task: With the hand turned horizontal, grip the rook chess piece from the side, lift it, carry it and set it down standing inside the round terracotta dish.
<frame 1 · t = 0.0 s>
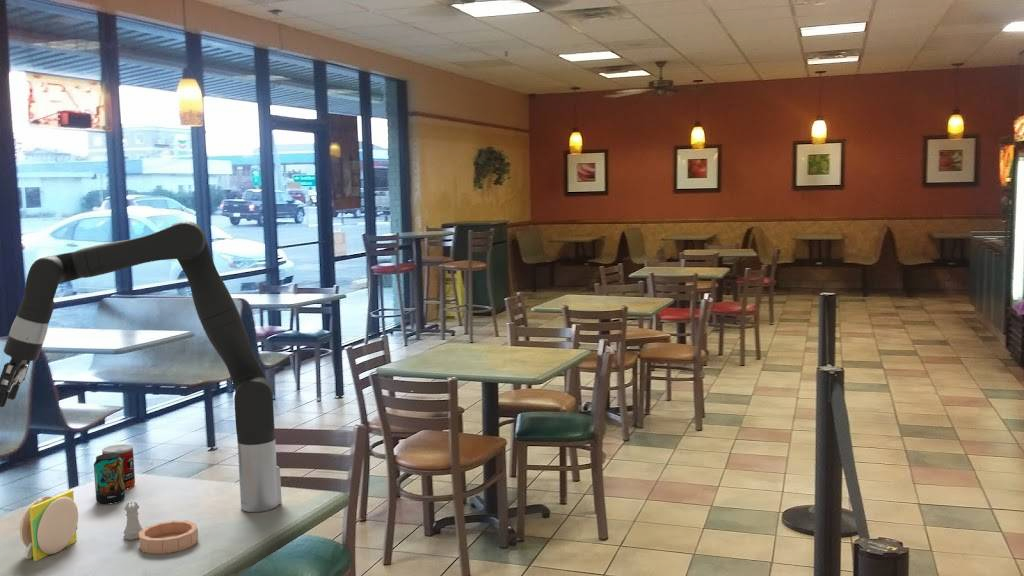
hand: (4, 402, 218), 31 cm above the table, tool tilted 20°, fingers open, 8 cm apart
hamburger: (50, 550, 208), on the table
rook chess piece: (133, 538, 215), on the table
dish: (169, 543, 210), on the table
beverage can: (111, 501, 242), on the table
canned food: (120, 487, 254), on the table
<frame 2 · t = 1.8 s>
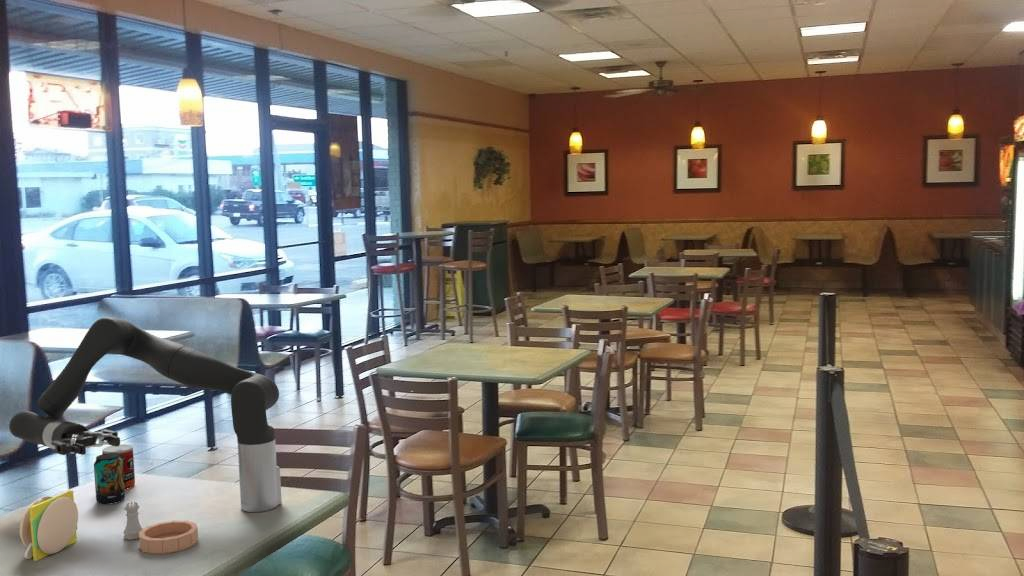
hand: (101, 446, 219), 20 cm above the table, tool horizontal, fingers open, 8 cm apart
nothing on the table moved.
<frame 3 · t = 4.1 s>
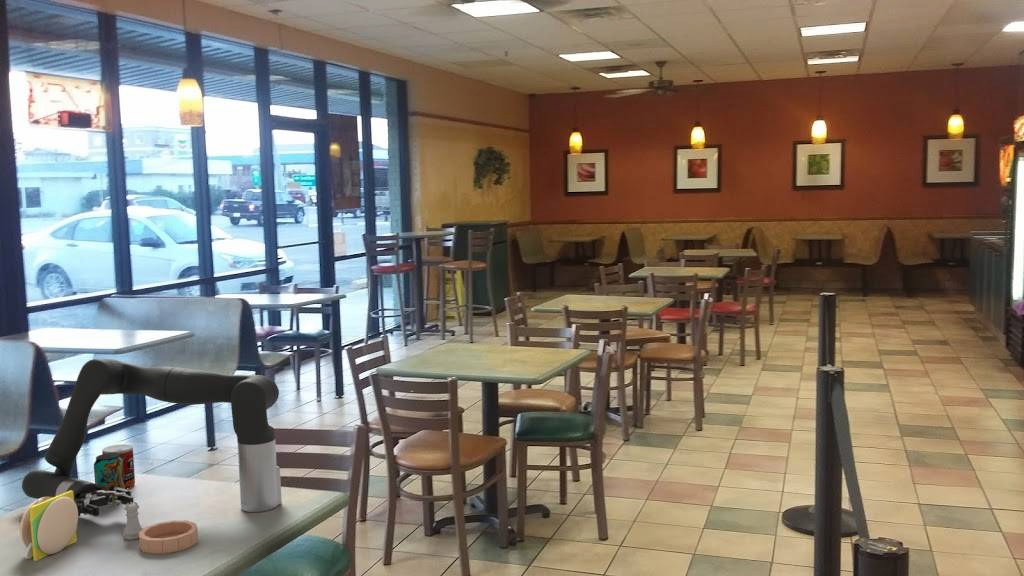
hand: (115, 506, 219), 6 cm above the table, tool horizontal, fingers open, 8 cm apart
nothing on the table moved.
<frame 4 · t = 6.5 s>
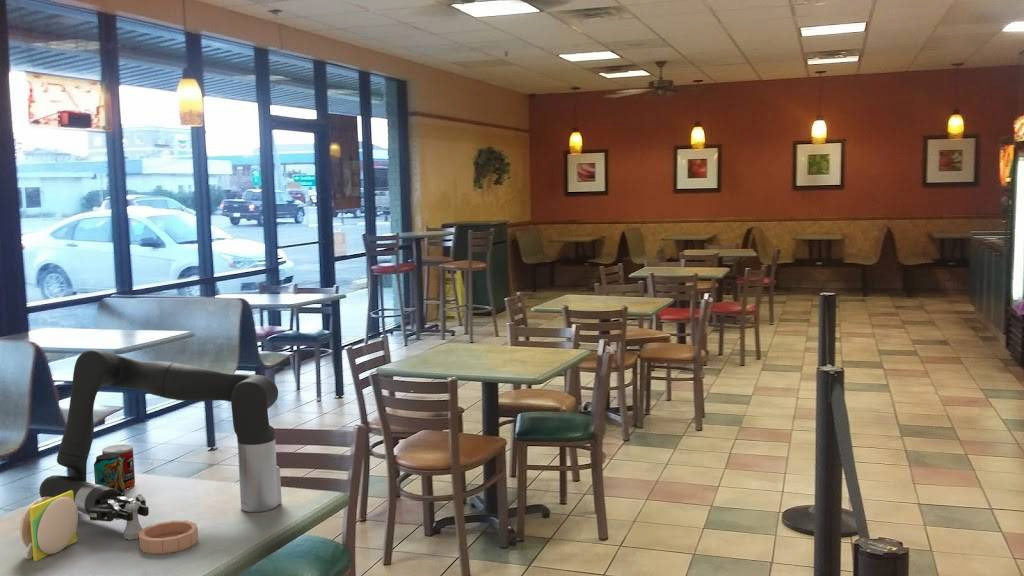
hand: (139, 514, 213), 6 cm above the table, tool horizontal, fingers closed on rook chess piece, 3 cm apart
rook chess piece: (133, 537, 215), on the table, touching gripper
everything else where it was.
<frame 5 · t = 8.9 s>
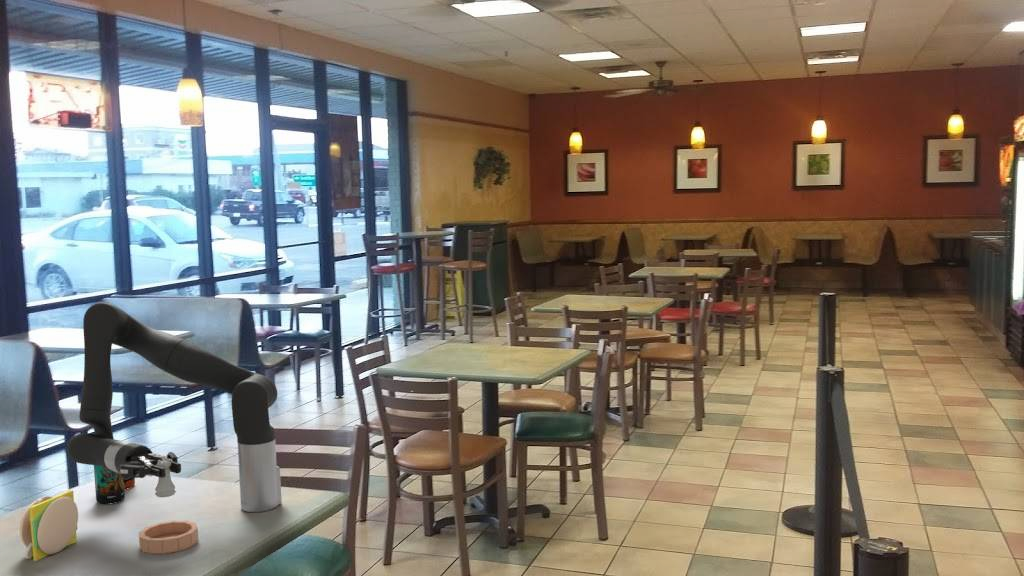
hand: (171, 470, 207), 17 cm above the table, tool horizontal, fingers closed on rook chess piece, 3 cm apart
rook chess piece: (165, 495, 209), point 11 cm above the table, touching gripper
everything else where it was.
when the fingers open (8 cm above the table, at t = 11.4 s): rook chess piece stays where it is, resting on dish.
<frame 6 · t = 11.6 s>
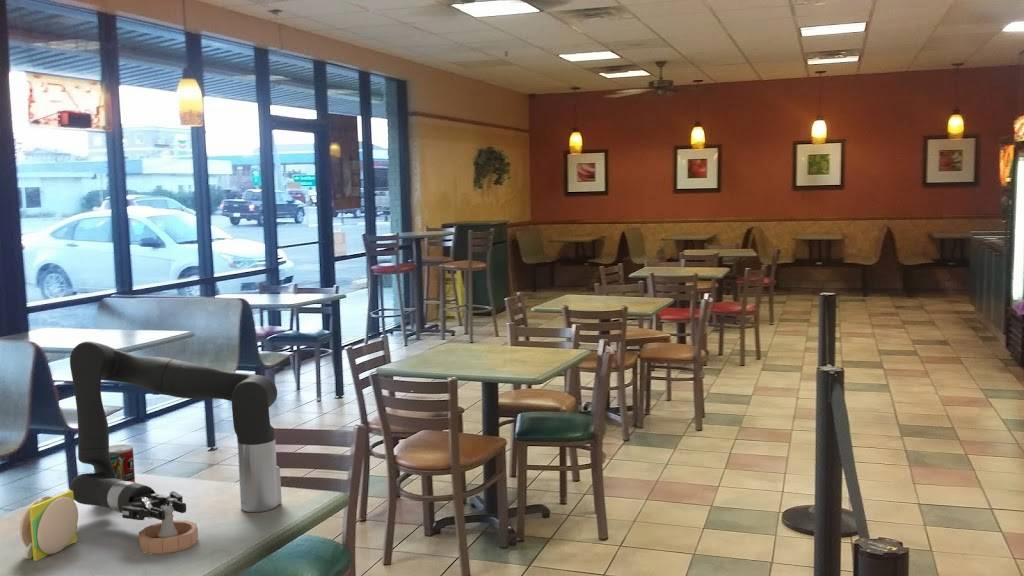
hand: (174, 511, 208), 8 cm above the table, tool horizontal, fingers open, 4 cm apart
rook chess piece: (168, 541, 210), point 1 cm above the table, touching dish
everything else where it was.
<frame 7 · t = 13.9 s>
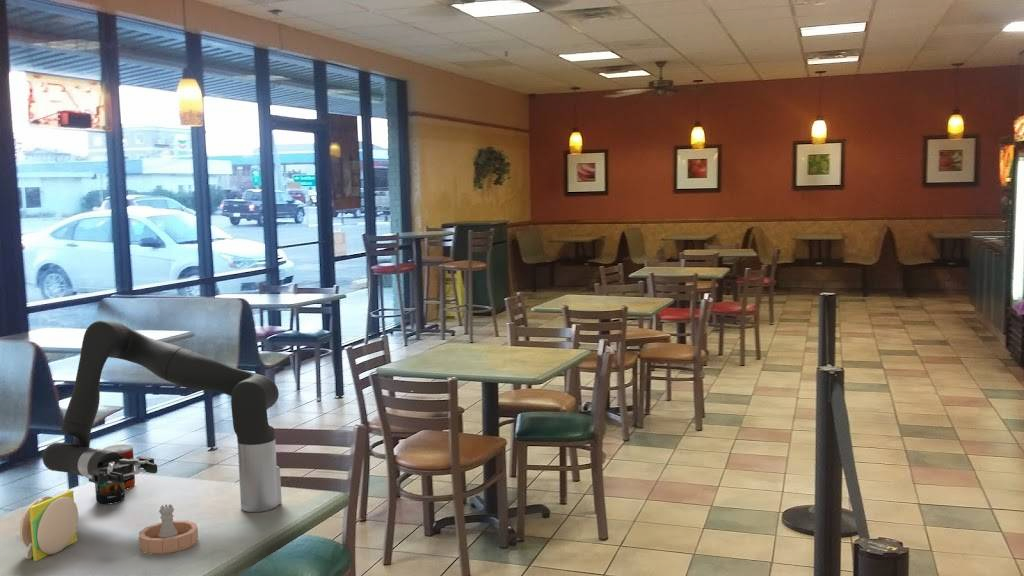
hand: (139, 473, 215), 15 cm above the table, tool horizontal, fingers open, 8 cm apart
nothing on the table moved.
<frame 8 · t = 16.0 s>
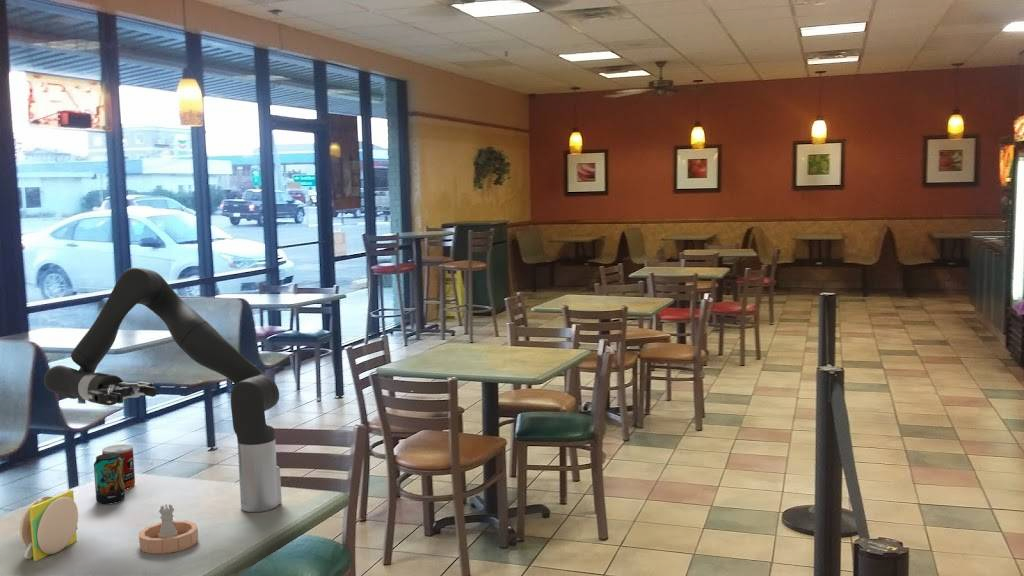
hand: (138, 395, 219), 32 cm above the table, tool horizontal, fingers open, 8 cm apart
nothing on the table moved.
at the end: rook chess piece 0.1 cm from the dish (horizontally); rook chess piece tilted 0°; rook chess piece point 0.6 cm above the table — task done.
